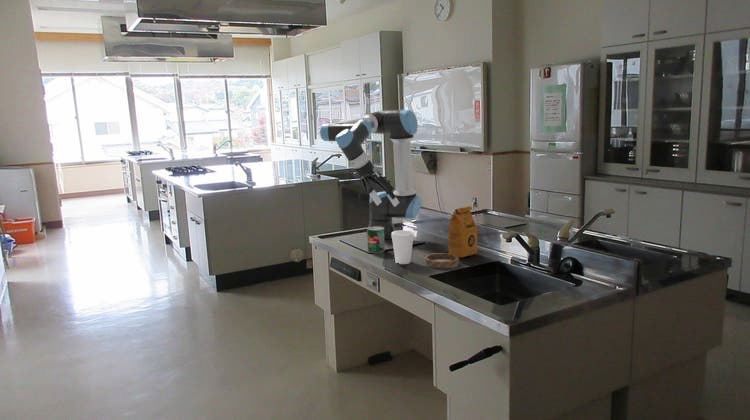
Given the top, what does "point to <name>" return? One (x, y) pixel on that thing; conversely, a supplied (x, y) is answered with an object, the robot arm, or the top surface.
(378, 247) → the canned tomato
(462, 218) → the coffee package
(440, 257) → the walnut ring holder
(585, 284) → the top surface
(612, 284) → the top surface
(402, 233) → the foam cup
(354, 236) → the top surface
